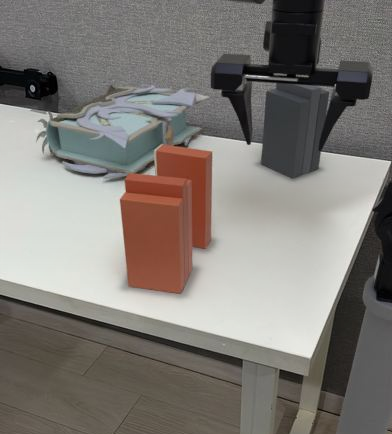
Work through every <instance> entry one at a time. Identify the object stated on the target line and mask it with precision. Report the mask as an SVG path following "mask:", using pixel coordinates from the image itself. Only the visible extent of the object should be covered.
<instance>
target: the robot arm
mask: <svg viewBox="0 0 392 434" xmlns="http://www.w3.org/2000/svg"><path fill="white" fill-rule="evenodd" d="M224 1H225V2H234V3H235V2H236V3H245V4H253V5H262V4H263V3H265V1H266V0H224ZM325 1H326V0H272V8H271V18H270V20H271V21H270V20H268V21H266V22H265V27H264V33H263V41H262V49H263V50H264V51H265V52H268V60H267V62H268V63H267V64H259V63H258V64H257V63H252V58H251V55H250V54H238V53H237V54H236V53H222V55H221V56H220V57H219V58H218V59H217V60H216V62H214V64H212V66H211V69H210V89H213V90H218V91H221V92H220V96H221V97H222V98H227V99H228V100H229V102H230V104H231V106H232V108H233V110H234V113H235V115H236V116H237V119H238V123H239V125H240V128H241V131H242V134H243V136H244V137H243V138H244V139H245V143H246V145H247V146H250V145H251V144H252V138H253V118H252V117H253V113H252V92H253V91H252V88H253V82H254V83H255V82H256V83H269V84H270V83H271V84H276V83H283V84H298V85H313V86H317V87H327V88H328V87H330V88H332V93H331V96H330V100H329V102H328V106H327V113H326V118H325V121H324V125H323V129H322V132H321V136H320V141H319V148H318V151H321V152H322V151H323V149H324V147H325V145H326V143H327V141H328V139H329V137H330V135H331V132H332V130H333V128H334V127H335V125H336V124H337V122H338V120H339V119H340V117H342V115H343V113H344V111H345V110H346V109H347V108H348V107H356V106H357V100H359V101H364V100H369V98H370V94H371V88H372V82H373V75H374V74H373V71H374V67H373V66H372V64H371V62H369V61H358V60H340V61H339V65H338V69H337V68H322V67H318V66H317V65H319V62H320V56H321V49H322V37H321V34H322V24H323V19H324V9H325ZM372 212H373V213H376V214H375V215H374V218H373V221H372V228H373V230H374V232H375V235H376V236H377V238H378V239H379V241H380V243H381V250H382V252H380V253H379V254H378V259H377V262H376V266H375V270H374V274H373V275H374V279H373V288H374V289H376V300H377V301H381V302H389V303H392V179H390V181H389V182H388V185H387V186H386V188H385V191H384V194H383V196H382V197H381V199H380V200H379V201H378V202H377V204H376V205H375V206H374V207H373V208H372Z"/></svg>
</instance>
